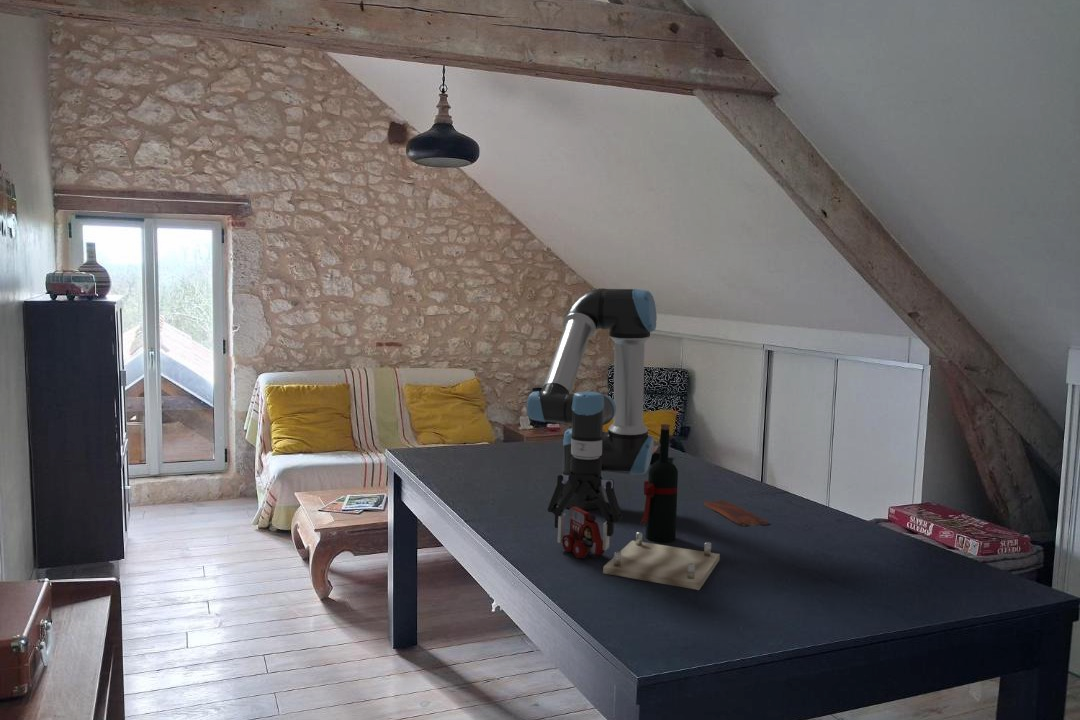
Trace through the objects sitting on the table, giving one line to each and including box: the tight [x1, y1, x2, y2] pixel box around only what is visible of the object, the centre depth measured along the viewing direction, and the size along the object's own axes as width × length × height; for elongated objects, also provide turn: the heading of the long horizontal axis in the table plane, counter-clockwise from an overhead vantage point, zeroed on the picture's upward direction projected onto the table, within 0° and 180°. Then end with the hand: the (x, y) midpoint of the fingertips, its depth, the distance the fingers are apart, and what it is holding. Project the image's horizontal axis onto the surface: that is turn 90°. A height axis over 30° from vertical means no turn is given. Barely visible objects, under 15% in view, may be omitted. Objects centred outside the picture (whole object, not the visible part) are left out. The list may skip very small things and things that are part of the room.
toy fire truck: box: [561, 507, 606, 559], centre depth 197 cm, size 7×12×10 cm, turn 29°
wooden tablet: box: [702, 499, 770, 527], centre depth 238 cm, size 27×10×2 cm, turn 14°
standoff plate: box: [602, 531, 721, 591], centre depth 190 cm, size 22×22×4 cm
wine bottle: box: [640, 423, 679, 544], centre depth 210 cm, size 8×10×30 cm
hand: (583, 544), depth 198 cm, fingers closed on toy fire truck, 11 cm apart
